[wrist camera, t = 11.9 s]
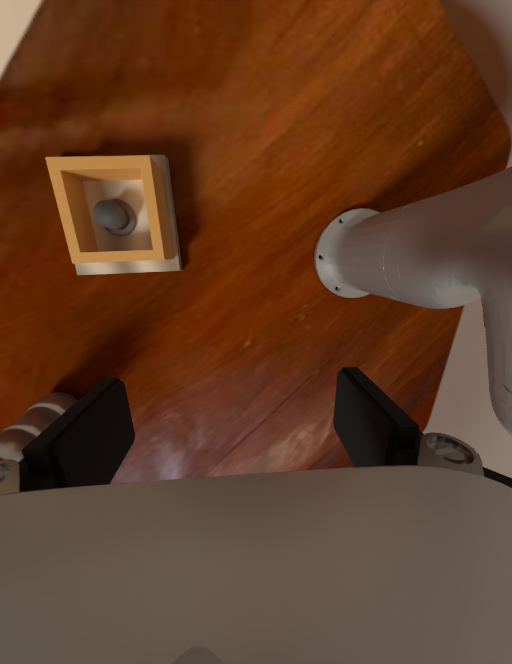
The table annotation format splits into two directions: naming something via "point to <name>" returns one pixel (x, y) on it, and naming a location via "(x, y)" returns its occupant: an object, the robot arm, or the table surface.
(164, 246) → the tan square frame
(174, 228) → the board
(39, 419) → the plastic bottle
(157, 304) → the table surface
